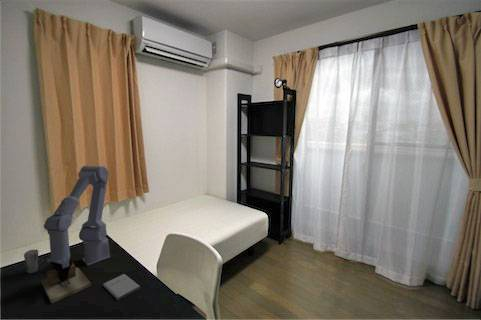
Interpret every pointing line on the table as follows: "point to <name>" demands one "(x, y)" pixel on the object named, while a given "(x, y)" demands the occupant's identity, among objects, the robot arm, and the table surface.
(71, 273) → the block
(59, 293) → the board
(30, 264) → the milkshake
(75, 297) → the table surface
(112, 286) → the external hard drive
